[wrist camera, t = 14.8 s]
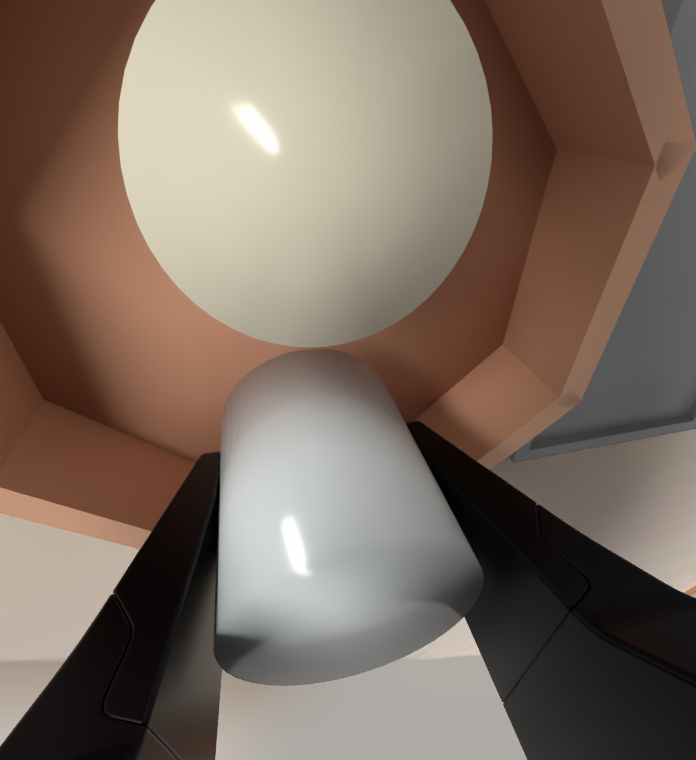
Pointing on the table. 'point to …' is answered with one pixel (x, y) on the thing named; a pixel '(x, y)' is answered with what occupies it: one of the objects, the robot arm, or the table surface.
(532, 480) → the table surface
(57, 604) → the table surface
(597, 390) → the parts tray
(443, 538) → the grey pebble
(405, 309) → the cream rounded cylinder
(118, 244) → the terracotta bowl
